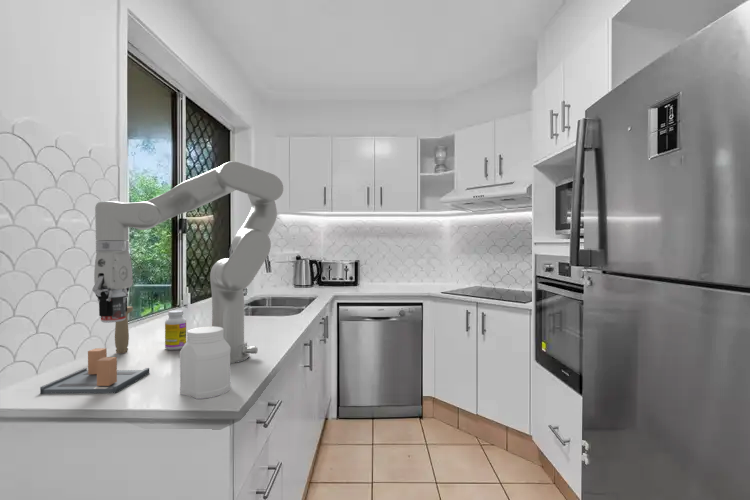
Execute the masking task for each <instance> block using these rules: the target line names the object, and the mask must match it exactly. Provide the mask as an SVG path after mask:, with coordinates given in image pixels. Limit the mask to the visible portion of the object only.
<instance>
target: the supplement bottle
mask: <svg viewBox="0 0 750 500" xmlns="http://www.w3.org/2000/svg"><path fill="white" fill-rule="evenodd" d="M167 315H168V318H167V319H166V320H165V322H164V348H165V350H168V351H169V350H170V351H175V350H176V351H177V350H181V349H182V348H183V346H184V345H185V343H186V342H187V319H186V318H185V317H183V315H184V310H181V309H179V310H176V309H175V310H170V311H168V314H167Z"/></svg>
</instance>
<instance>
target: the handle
mask: <svg viewBox="0 0 750 500" xmlns="http://www.w3.org/2000/svg"><path fill="white" fill-rule="evenodd" d="M133 310H134V308H133V306H130V305H129V306H128V305H127V312H126V319H125V320H123V321H119V322H115V324H114V325H115V328H114V329H115V330H114V345H115V353H116V354H125V353H128V351H129V348H128V347H129V343H130V342H129V341H130V337H129V336H130V335H129V334H130V333H129V319H128V318H129V317H128V316H129V314H130V313H132V312H133Z"/></svg>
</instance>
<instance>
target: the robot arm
mask: <svg viewBox="0 0 750 500" xmlns="http://www.w3.org/2000/svg"><path fill="white" fill-rule="evenodd" d="M283 184H284V183H283V182H282V180H281V179H280V177H278V176H277V175H275V174H273V173H272V172H269V171H265V170H262V169H259V168H257V167H253V166H250V165H248V164H245V163H242V162H239V161H235V160H234V161H228V162H225V163H223V164H221V165H220V166H218V167H214V168H213V169H211V170H208V171H205V172H203V173H201V174H199V175H196V176H194V177H191V178H190V179H187V180H185V181H182V182H180V183H179V184H177V185H176V186H174V187H173V188H171V189H169V190H168V191H166V192H164V193H161V194H159V195H157V196H154V197H153V198H151V199H148V200H146V201H138V202H136V201H135V202H121V201H109V200H108V201H98V202H97V203H96V204H95V205H94V206H95V207H94V211H95V212H94V215H95V216H94V217H95V224H94V225H95V254H96V255H95V258H94V259H95V260H94V270H93V271H94V274H93V276H94V279H93V282H94V285H93V287H92V292H93V293H94V294H95V296H96V298H97V301H98V311H99V314H98V315H99V317H101V316H112V315H113V301H111V297H112V292H113V290H119V289H122V291H123V292H124V293H125V295H126V312H127V306H128V297H129V291H130V288H131V287H132V286H133V280H134V278H133V265H132V260H131V255H130V245H129V244H130V243H129V240H130V239H129V236H130V235H129V228H134V229H136V230H140V231H144V230H149V229H153V228H155V227H156V226H157V225H160V224H161V223H164V222H166V221H167V220H170V219H172V218H174V217H177V216H179V215H182V214H184V213H188V212H192V211H193V210H196V209H199V208H202V207H203V206H205V205H207V204H209V203H212V202H213V201H216V200H218V199H220V198H223V197H224V196H227V195H228V194H231V193H232V192H235V191H239V192H241V193H244V194H247V197H248V199H249V201H250V205H251V206H250V207H251V209H250V212H249V213H248V216H247V217H246V219H245V221H244V222H243V224H242V225H241V227H240V228H239V230H238V231H237V232H236V234H235V236H234V237H233V238H232V240H231V250H232V253H231V254H230V256H229V258H228V257H227V258H226V257H225V258H221V259H219V260H217V261H216V262H214V264H213V265H212V267H211V270H210V274H209V277H210V278H209V280H210V289H211V327H222V328H223V337H224V339H225V340H226V342H227V343H228V344H229V346H230V348H231V351H230V364H235V362H236V363H239V362H238V361H240V362H243V361H242V360H244V361H246V360H247V358H248V357H249V358H250V354H253V355H254V354H255V355H256V354H258V347H257V346H255V345H253V346H249V345H248V342H247V341H245V295H244V289H246V288H247V287H249V286H250V285H251V283H252V282H253V280H255V277H256V276H257V274H258V273H259V271H260V269H261V267H262V266H263V265H264V263H265V262H266V260H267V258H268V256H269V254H270V251H271V247H272V245H271V244H272V242H271V239H270V236H269V235H270V233H271V231H272V229H273V227H274V225H275V223H276V221H277V217H278V216H277V215H278V210H277V205H276V201H277V200H278V199H280V198H281V197H282V195H283V192H284V185H283ZM104 287H107V288H109V289H104ZM105 292H107V295H106V293H105ZM249 358H248V359H249ZM245 359H246V360H245Z"/></svg>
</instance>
